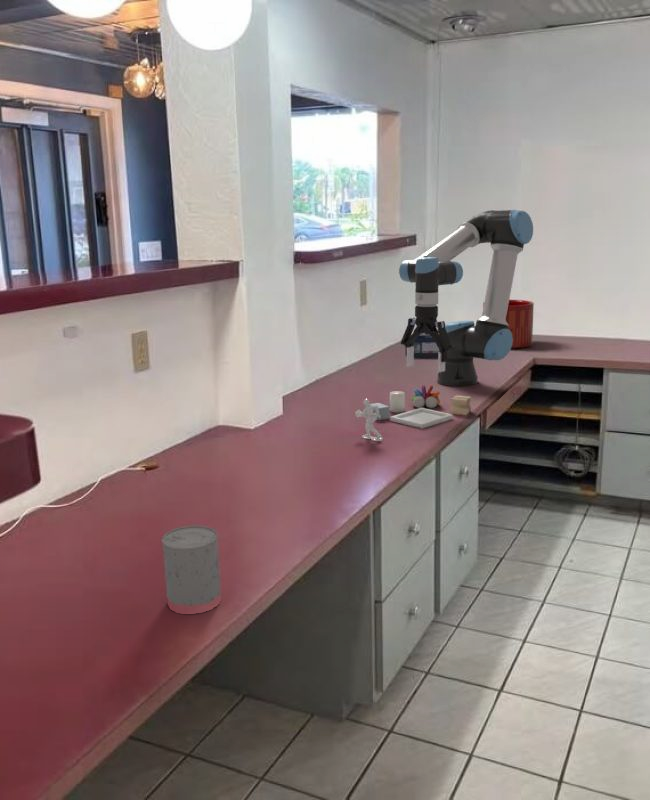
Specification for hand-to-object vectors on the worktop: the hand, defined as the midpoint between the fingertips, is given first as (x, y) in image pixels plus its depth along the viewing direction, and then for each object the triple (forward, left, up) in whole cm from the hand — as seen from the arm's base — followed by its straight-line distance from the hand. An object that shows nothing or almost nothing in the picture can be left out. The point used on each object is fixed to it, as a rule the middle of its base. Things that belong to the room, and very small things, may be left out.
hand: (425, 368), depth 262 cm
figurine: (+40, +12, -13) cm, 43 cm away
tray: (+14, +10, -13) cm, 22 cm away
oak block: (-1, +14, -13) cm, 19 cm away
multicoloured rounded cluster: (0, 0, -13) cm, 13 cm away
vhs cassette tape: (-66, -53, -13) cm, 86 cm away
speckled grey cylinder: (+131, +57, -13) cm, 143 cm away
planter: (-111, -44, -13) cm, 120 cm away
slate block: (+21, -2, -13) cm, 25 cm away
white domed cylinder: (+11, -3, -13) cm, 17 cm away
